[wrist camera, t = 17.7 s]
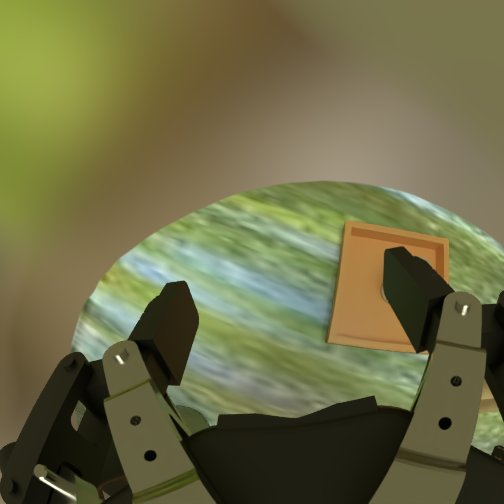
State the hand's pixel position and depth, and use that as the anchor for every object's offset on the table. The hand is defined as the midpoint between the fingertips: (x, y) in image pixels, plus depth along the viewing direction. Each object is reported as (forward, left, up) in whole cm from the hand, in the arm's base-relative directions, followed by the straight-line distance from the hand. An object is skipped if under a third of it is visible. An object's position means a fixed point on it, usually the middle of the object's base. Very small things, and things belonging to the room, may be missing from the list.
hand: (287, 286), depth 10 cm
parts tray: (+8, -13, -31) cm, 34 cm away
